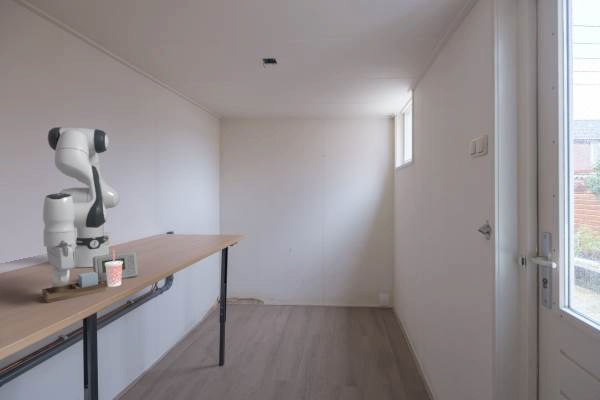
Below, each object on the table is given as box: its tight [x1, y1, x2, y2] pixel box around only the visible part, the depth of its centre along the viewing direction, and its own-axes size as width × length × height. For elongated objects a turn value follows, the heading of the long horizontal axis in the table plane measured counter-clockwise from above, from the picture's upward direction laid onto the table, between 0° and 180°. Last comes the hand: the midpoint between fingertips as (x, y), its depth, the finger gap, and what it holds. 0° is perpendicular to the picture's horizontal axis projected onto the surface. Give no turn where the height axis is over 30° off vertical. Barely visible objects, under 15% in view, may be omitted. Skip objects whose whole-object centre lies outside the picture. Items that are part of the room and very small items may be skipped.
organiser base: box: [41, 279, 107, 304], centre depth 111 cm, size 9×17×3 cm, turn 138°
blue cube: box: [77, 271, 98, 288], centre depth 114 cm, size 5×5×5 cm
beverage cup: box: [105, 249, 123, 288], centre depth 121 cm, size 6×6×14 cm
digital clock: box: [92, 251, 139, 283], centre depth 130 cm, size 16×9×11 cm, turn 120°
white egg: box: [50, 267, 71, 287], centre depth 108 cm, size 5×5×6 cm
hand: (60, 278), depth 108 cm, fingers closed on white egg, 5 cm apart
